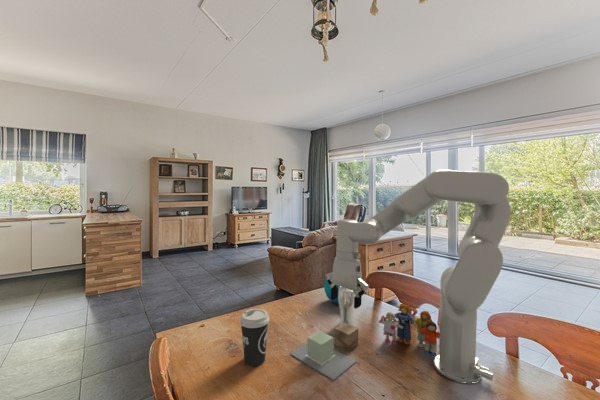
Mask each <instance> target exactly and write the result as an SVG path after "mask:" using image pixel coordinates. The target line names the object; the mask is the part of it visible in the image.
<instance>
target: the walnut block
mask: <svg viewBox="0 0 600 400" xmlns="http://www.w3.org/2000/svg"><path fill="white" fill-rule="evenodd" d="M358 345H359V327H356V326H355V325H354V326H352V325H349V324H347V323H343V324H341V325H339V324H338V326H336V327H335V328H334V337H333V346H336V347H338V348H341V349H342V350H344V351H346V352H351V351H352V350H353V349H355V348H356V347H358Z"/></svg>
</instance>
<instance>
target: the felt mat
mask: <svg viewBox="0 0 600 400" xmlns="http://www.w3.org/2000/svg"><path fill="white" fill-rule="evenodd" d="M307 350H308V342H306V343H305V344H303V345H301V346H300V347H299V348H297V349H295V350H293V351H292V352H290V354H289V355H290V356H292V357H294V358H296V359H297V360H299V361H300V362H302V363H303V364H306V365H307V366H309V367H310V368H312V369H313V370H315V371H317V372H319V373H320V374H322V375H323V376H324V377H325V376H326V377H327V378H329V379H330V380H332V381H335V380H337V379H339V377H341V376H342V375H343V374H344V373H345V372H346V371H348V370H349V369H350V368H352V367H353V365H355V364H356V363H357V361H358V360H357V359H354V358H352V357H350V356H348V355H346V354H344V353H343V352H340V351H338V350H337V349H334V348H333V356H332V357H330V358H329V359H327V360H326V361H325V362H323V363H322V364H321V363H320V362H318V361H316V360H314V359H313V358H311V357H309V356H308V355H307Z"/></svg>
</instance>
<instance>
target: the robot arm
mask: <svg viewBox="0 0 600 400" xmlns="http://www.w3.org/2000/svg"><path fill="white" fill-rule="evenodd" d="M509 189H510V185H509V183H508V180H507V179H506V178H505V177H503V175H501V174H498V173H495V172H488V171H468V170H465V171H464V170H452V169H437V170H435V171H432V172H431V173H429V174H428V175H427V176H426V177H425V178H423V179H421V180H420V181H418V182H417V183H415V184H414V185H413V186H412V187H410V188H409V189H407V190H406V191H404V192H403V193H401V194H399V195H398V196H397V197H396V198H394V199H393V200H392V202H391V203H390V204H389V205H387V206H386V207H385V208H383V209H382V210H381V211H379V212H378V213H376V214H375V215H373V216H372V217H370V218H369V219H368V220H366V221H363V222H361V221H359V222H358V221H357V220H355V219H349V218H347V219H346V218H345V219H340V220H338V221H337V225H336V249H335V251H336V253H335V257H334V260H333V265H332V270H331V271H332V272H329V273H326V274H325V277H326V279H327V280H328V283H329V285H330V288H331V300H334V299H336V298H338V287H336V286H340V287H343V288H346V289H349V290H353V292H354V293H355V295H356V296H355V297H354V308H355V309H358V308H360V307H361V306H362V296H364V294H366V293H367V291H368V290H369V288H370V285H369V284H367V282H365V281H364V280H363V272H362V269H363V268H362V263H361V260H360V259H361V258H362V254H360V253H359V243H360V244H363V245H368V246H369V245H374V244H376V243H378V241H379V240H380V239H381V238H382V237H383V236H385V235H386V234H388V233H389V232H390V231H392V230H393V229H395V228H397V227H399V226H400V225H403V224H404V223H406V222H407V223H408V222H410V221H413V220H414V219H416V218H417V217H419V216H420V215H422V214H423V213H426V211H428V210H429V209H431V208H432V207H434V206H436V205H438V204H439V203H440V202H442V201H443V200H444V201H448V202H449V201H450V202H456V203H457V202H458V203H466V204H467V203H468V204H474V213H473V216H472V219H471V221H470V222H469V223H470V224H469V225H468V228H466V232H465V234H464V235H463V237H462V238H461V241H460V242H459V244H458V247H457V255H458V258H459V259H458V260H457V262H456V264H455V265H453V266H452V265H451V266H449V267H447V268H446V269H444V271H443V272H442V274H441V276H440V281H439V282H440V288H439V289H440V317H439V319H440V320H439V333H440V338H439V350H438V352H439V354H438V355H437V356H436V357H433V366H434V368H435V370H436V371H437V372H438V373H439V374H440V373H441V374H440V375H442V376H443V375H444V377H445V376H446V377H448V378H450V379H449V380H451V379H452V380H451V381H453V380H455V381H454V382H456V381H459V382H466V383H472V382H477V381H479V380H480V379H481V380H482V378H484V379H487V380H489V381H490V382H492V381H493V378H494V373H493V372H490V370H491V369H490V368H489V367H487V366H483V365H481V363H479V358H478V357H476V352H477V351H476V349H477V326H478V325H477V321H478V309H479V308H480V307H481V306H482V305H483V304H484V303H485V301H486V299H487V297H488V295H489V293H490V292H491V290H492V289H493V287H494V284H495V283H496V281H497V279H498V277H499V275H500V273H501V271H502V268H503V264H504V257H503V253H502V251H501V250H500V248H499V245H500V243H501V241H502V239H503V237H504V235H505V233H506V230H507V229H508V226H509V224H510V219H511V206H510V202H509V201H510V200H509V199H508V197H507V196H508V194H509V191H510V190H509ZM331 276H332V279H331ZM361 288H362V289H361ZM331 300H330V301H331ZM446 377H445V378H446ZM448 378H447V379H448ZM481 380H480V381H481ZM480 381H479V382H480ZM459 382H458V383H459ZM477 383H478V382H477Z"/></svg>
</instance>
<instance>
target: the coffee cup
mask: <svg viewBox="0 0 600 400" xmlns="http://www.w3.org/2000/svg"><path fill="white" fill-rule="evenodd" d="M270 321H271V319H270V316H269V313H268V312H267V311H266V310H264V309H262V308H261V309H260V308H251V309H247V310H245V311H243V313H242V314H241V316H240V319H239V322H238V323H239V325H241V337H242V347H243V359H244V363H245V365H246V366H248V367H258V366H261V365H262V364H264V363H265V362H266V354H267V353H266V352H267V351H266V350H267V342H268V341H267V338H268V328H269V323H270Z"/></svg>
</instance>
